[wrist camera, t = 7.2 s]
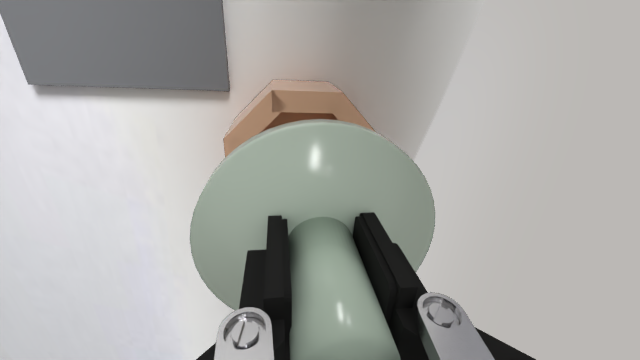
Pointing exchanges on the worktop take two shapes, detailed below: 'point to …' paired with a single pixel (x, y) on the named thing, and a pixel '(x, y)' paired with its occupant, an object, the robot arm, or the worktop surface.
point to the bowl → (291, 109)
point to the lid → (314, 228)
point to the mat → (120, 43)
